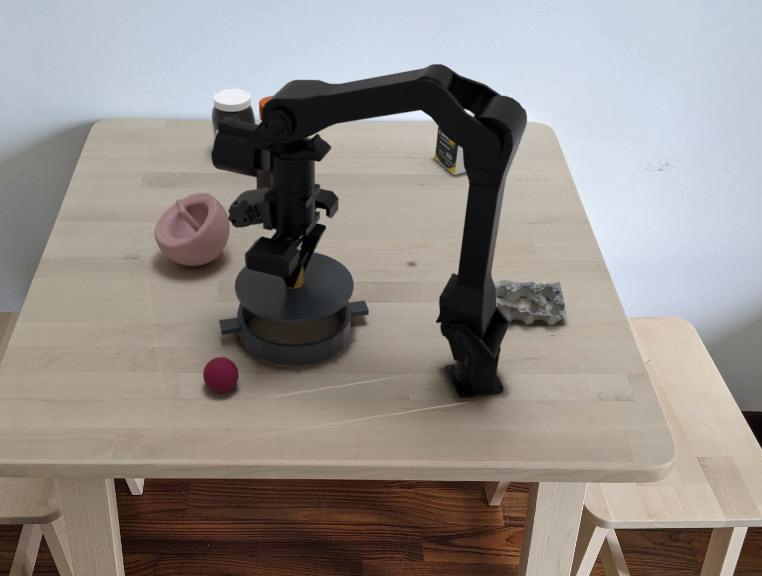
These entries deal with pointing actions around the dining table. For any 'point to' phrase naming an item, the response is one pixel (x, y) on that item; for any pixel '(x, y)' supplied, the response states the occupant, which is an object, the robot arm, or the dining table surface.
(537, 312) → the egg carton
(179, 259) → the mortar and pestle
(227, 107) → the spread jar
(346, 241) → the dining table surface
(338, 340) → the pot
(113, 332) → the dining table surface
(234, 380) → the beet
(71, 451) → the dining table surface
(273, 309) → the pot lid
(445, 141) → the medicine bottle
